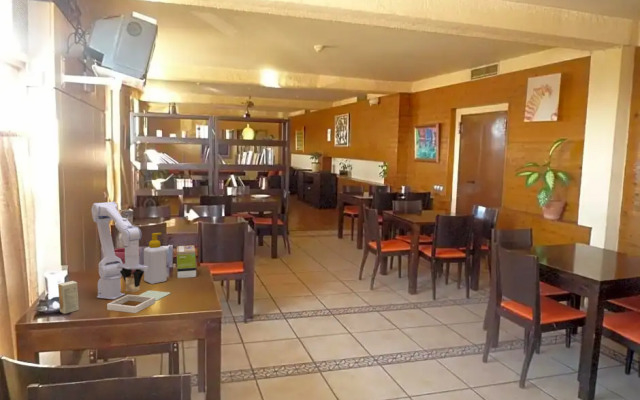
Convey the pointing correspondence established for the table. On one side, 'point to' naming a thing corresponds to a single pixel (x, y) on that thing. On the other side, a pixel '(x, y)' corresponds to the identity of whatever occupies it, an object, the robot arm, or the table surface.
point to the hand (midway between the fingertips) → (132, 285)
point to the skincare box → (68, 297)
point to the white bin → (132, 309)
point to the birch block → (131, 284)
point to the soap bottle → (155, 261)
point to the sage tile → (155, 294)
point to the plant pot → (122, 255)
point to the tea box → (186, 261)
